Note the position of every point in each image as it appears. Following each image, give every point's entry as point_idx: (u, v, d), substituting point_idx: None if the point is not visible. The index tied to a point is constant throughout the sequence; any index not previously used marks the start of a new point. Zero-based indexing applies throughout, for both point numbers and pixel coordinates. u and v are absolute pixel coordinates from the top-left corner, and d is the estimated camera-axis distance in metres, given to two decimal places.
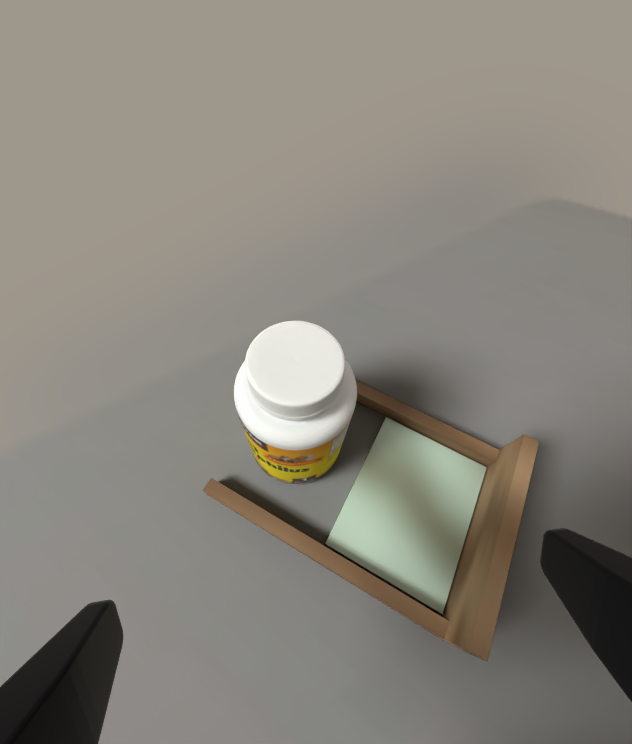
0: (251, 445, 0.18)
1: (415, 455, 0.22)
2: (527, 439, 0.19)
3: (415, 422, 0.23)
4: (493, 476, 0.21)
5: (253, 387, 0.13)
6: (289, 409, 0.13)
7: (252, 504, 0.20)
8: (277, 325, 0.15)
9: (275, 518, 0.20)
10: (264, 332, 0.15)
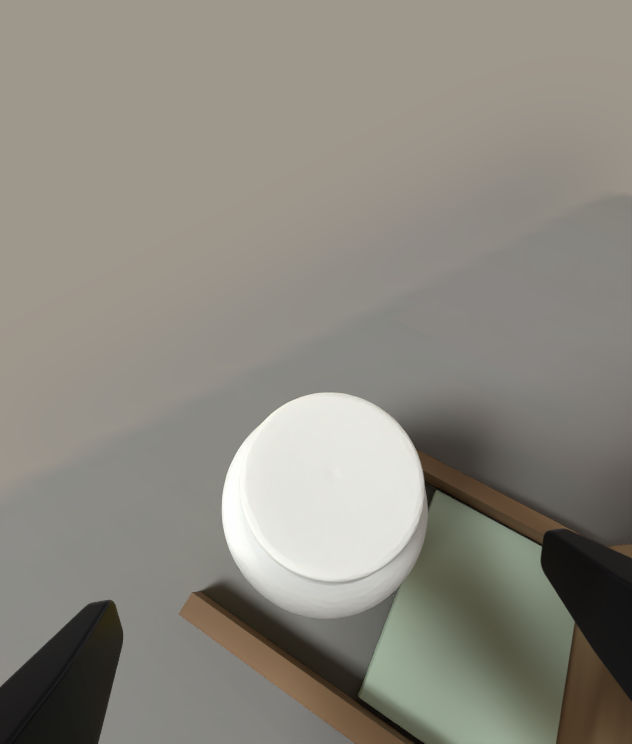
0: None
1: (481, 549, 0.16)
2: None
3: (480, 502, 0.16)
4: None
5: (254, 535, 0.07)
6: (324, 581, 0.07)
7: (251, 638, 0.13)
8: (298, 402, 0.08)
9: (285, 662, 0.13)
10: (275, 416, 0.08)
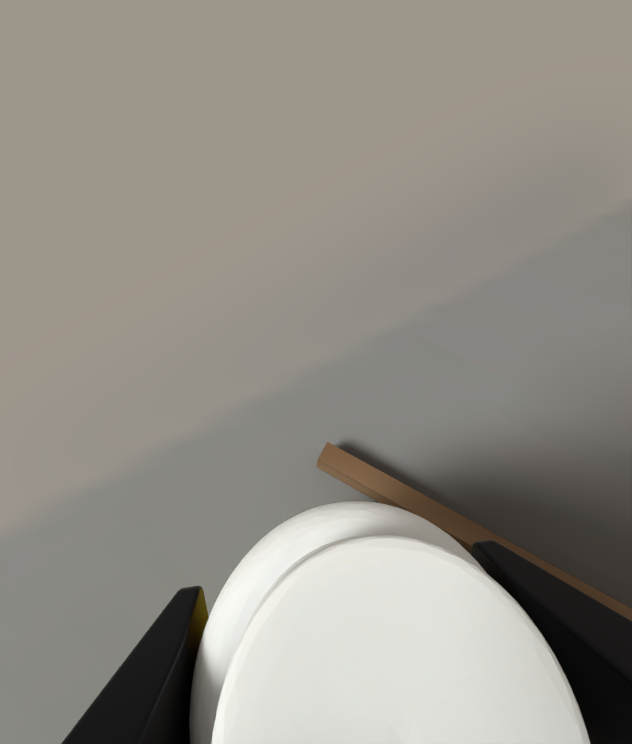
0: None
1: None
2: None
3: None
4: None
5: None
6: None
7: None
8: (327, 563, 0.04)
9: None
10: (283, 598, 0.04)
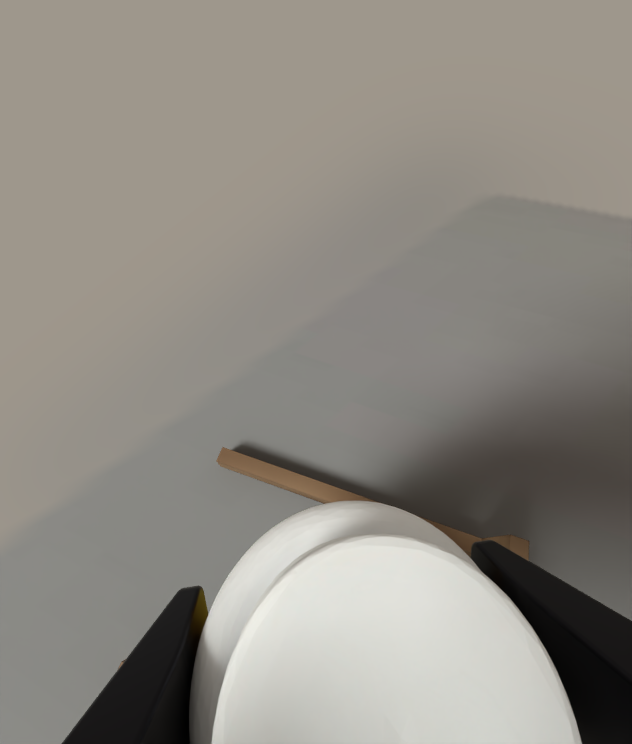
0: None
1: None
2: (515, 541, 0.15)
3: None
4: None
5: None
6: None
7: None
8: (324, 561, 0.04)
9: None
10: (282, 595, 0.04)
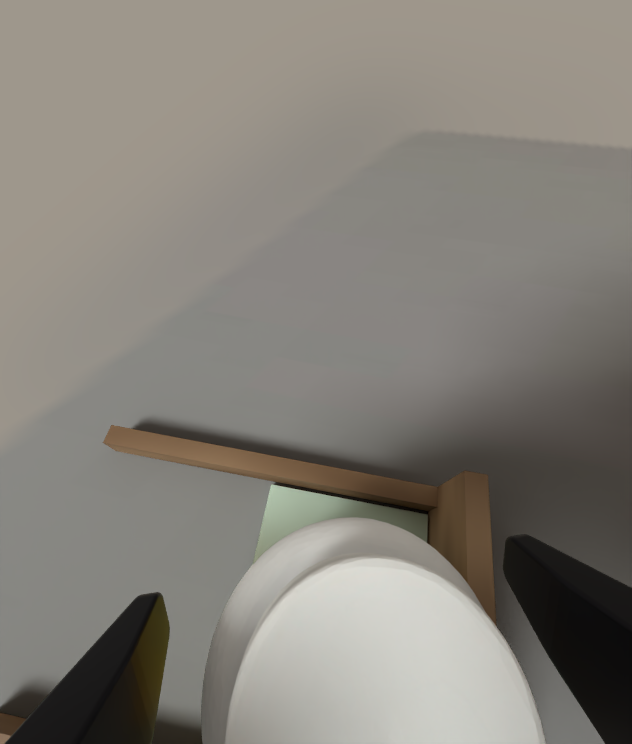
0: None
1: None
2: (471, 477, 0.12)
3: (312, 483, 0.15)
4: (439, 535, 0.14)
5: None
6: None
7: None
8: (322, 580, 0.05)
9: None
10: (285, 612, 0.05)
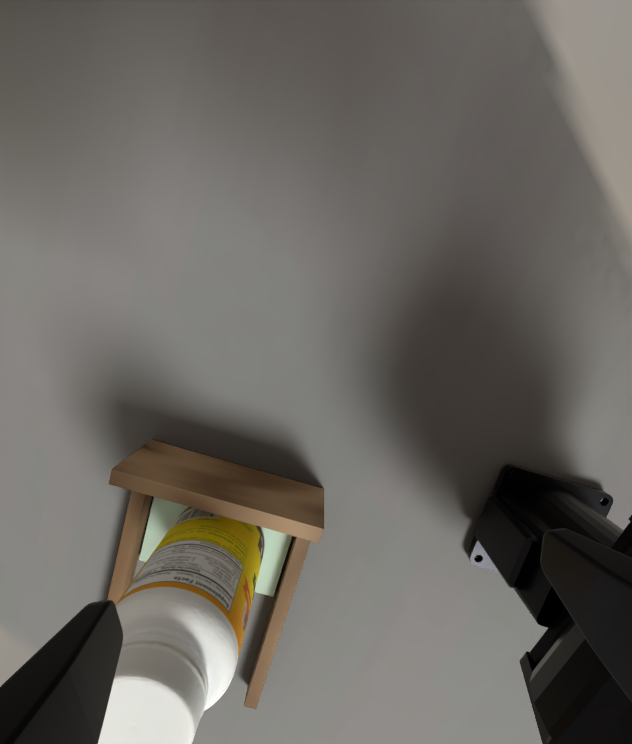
0: None
1: None
2: (113, 481, 0.17)
3: (134, 542, 0.21)
4: None
5: None
6: None
7: (256, 670, 0.22)
8: None
9: (262, 650, 0.22)
10: None
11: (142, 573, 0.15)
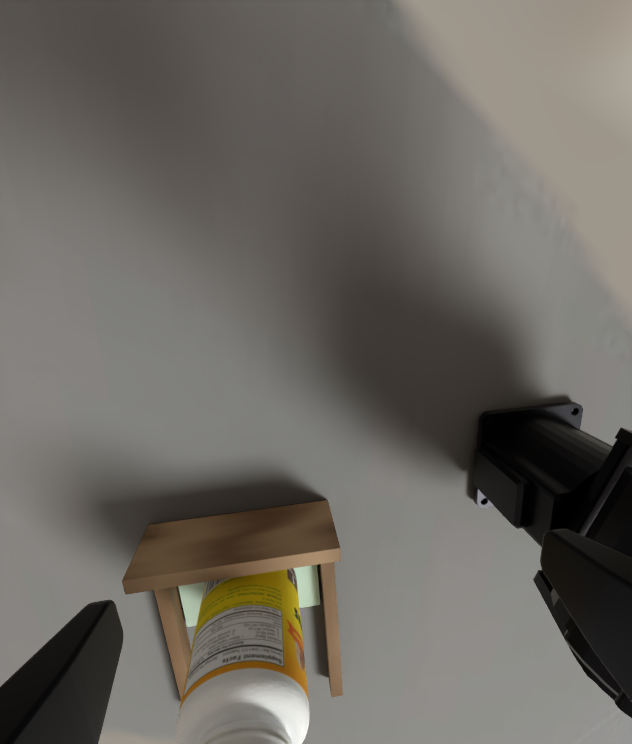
0: None
1: None
2: (129, 590, 0.17)
3: (175, 617, 0.22)
4: None
5: None
6: None
7: (330, 667, 0.24)
8: None
9: (329, 650, 0.24)
10: None
11: (192, 664, 0.16)
